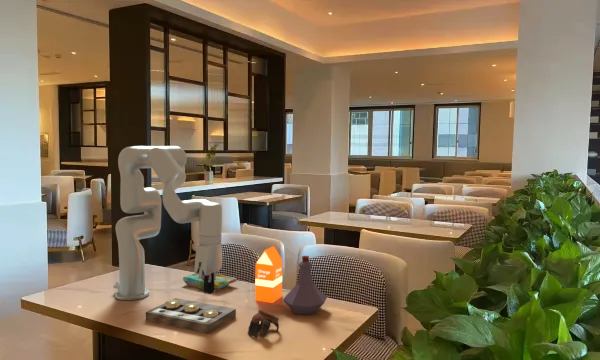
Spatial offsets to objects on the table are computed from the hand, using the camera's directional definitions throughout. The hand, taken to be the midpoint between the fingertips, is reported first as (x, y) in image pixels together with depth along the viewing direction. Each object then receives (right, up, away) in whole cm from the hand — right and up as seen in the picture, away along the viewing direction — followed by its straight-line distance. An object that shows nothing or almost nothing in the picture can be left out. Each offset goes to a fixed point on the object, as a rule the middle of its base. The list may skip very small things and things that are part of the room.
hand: (208, 292), depth 159 cm
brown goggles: (+19, -12, -8) cm, 24 cm away
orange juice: (+19, -9, +26) cm, 33 cm away
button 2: (+1, -9, 0) cm, 9 cm away
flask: (+33, -10, +13) cm, 37 cm away
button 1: (-14, -7, +7) cm, 17 cm away
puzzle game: (-7, -8, +41) cm, 42 cm away
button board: (-7, -10, +4) cm, 13 cm away
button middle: (-7, -8, +3) cm, 11 cm away
